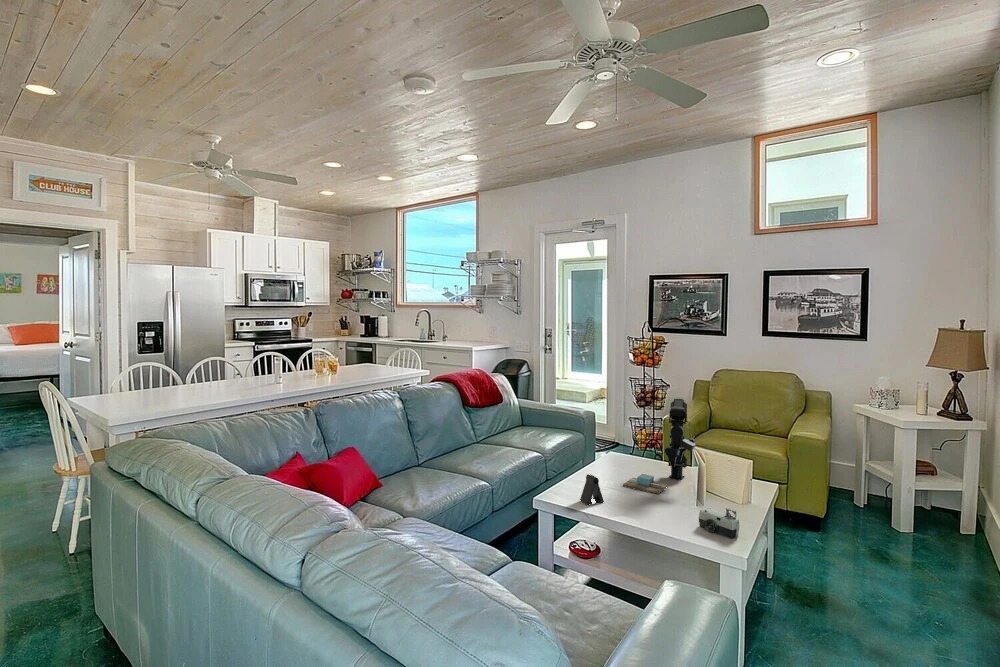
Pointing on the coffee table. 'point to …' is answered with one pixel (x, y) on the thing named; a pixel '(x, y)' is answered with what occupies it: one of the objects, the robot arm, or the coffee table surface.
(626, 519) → the coffee table surface
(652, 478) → the block
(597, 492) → the phone stand
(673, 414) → the robot arm
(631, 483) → the rail plate
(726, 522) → the camera
